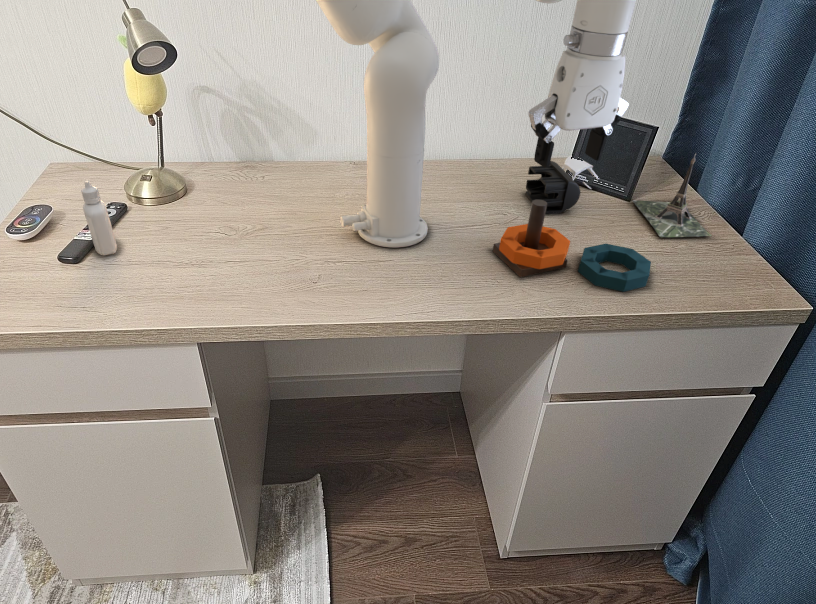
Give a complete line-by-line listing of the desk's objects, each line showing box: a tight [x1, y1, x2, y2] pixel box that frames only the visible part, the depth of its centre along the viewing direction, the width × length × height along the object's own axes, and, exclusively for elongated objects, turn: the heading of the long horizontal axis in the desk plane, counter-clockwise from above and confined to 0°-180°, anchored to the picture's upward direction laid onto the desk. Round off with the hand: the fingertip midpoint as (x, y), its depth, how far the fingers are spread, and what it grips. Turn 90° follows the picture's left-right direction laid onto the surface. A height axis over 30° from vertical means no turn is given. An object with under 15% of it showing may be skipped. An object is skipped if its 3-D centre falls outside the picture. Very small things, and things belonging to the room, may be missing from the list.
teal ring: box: [577, 243, 652, 293], centre depth 101 cm, size 11×11×2 cm
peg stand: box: [492, 200, 568, 278], centre depth 101 cm, size 9×9×10 cm
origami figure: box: [561, 153, 600, 190], centre depth 128 cm, size 12×8×5 cm
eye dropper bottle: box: [81, 180, 118, 256], centre depth 100 cm, size 4×6×12 cm
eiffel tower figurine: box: [631, 153, 713, 238], centre depth 114 cm, size 15×10×13 cm
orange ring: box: [499, 223, 571, 269], centre depth 103 cm, size 11×11×2 cm
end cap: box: [524, 160, 581, 215], centre depth 120 cm, size 10×7×7 cm
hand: (567, 160), depth 96 cm, fingers open, 9 cm apart
